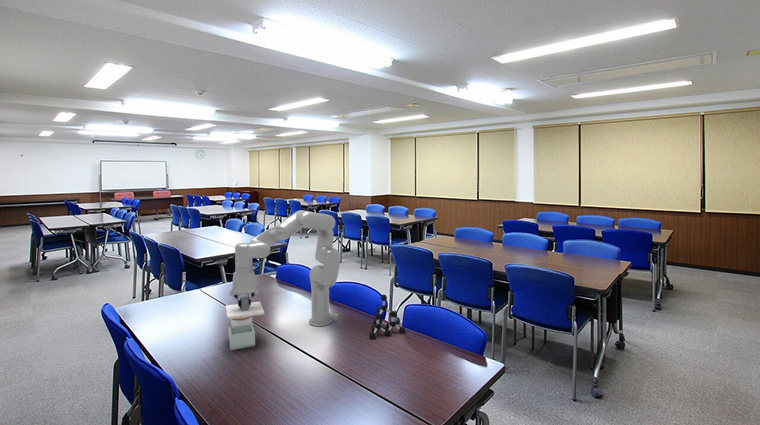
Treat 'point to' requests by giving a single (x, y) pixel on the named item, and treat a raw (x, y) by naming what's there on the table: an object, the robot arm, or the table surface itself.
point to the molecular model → (380, 320)
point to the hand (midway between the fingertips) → (244, 306)
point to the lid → (244, 309)
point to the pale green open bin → (241, 336)
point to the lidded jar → (241, 321)
